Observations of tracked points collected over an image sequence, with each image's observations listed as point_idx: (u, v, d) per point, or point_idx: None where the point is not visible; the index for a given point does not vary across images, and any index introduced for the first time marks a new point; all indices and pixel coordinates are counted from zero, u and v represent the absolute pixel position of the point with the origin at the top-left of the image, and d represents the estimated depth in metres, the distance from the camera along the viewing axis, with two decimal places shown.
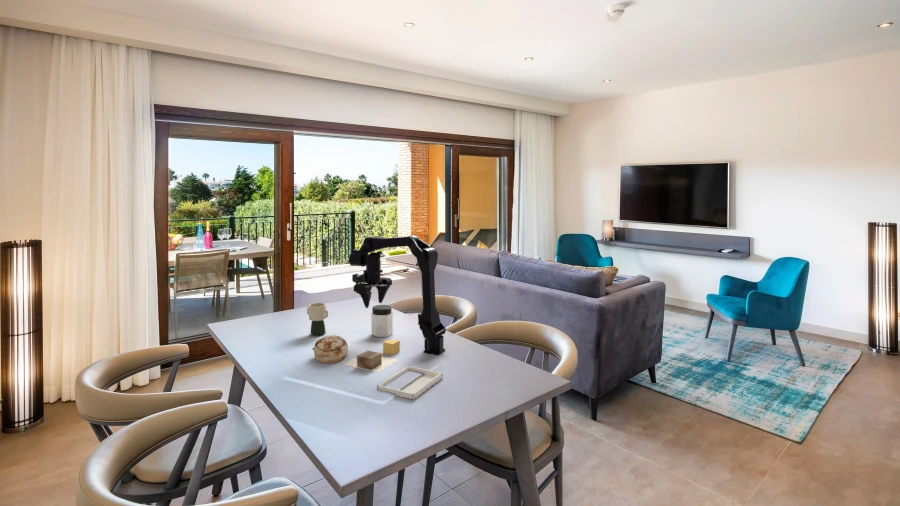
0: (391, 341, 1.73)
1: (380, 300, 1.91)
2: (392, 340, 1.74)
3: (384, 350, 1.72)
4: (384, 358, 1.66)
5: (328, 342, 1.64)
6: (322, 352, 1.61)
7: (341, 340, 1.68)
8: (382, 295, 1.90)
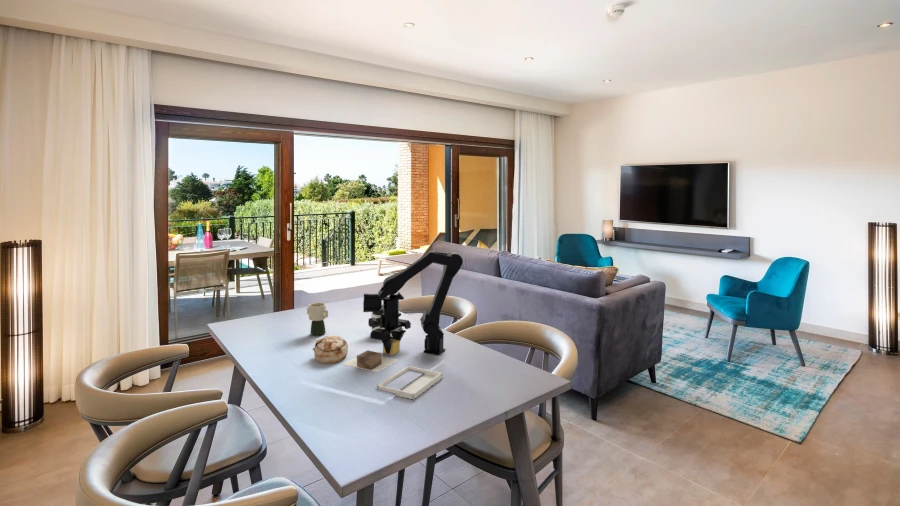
0: None
1: None
2: None
3: (384, 350, 1.72)
4: (384, 358, 1.66)
5: (329, 342, 1.63)
6: (322, 352, 1.60)
7: (341, 340, 1.67)
8: None
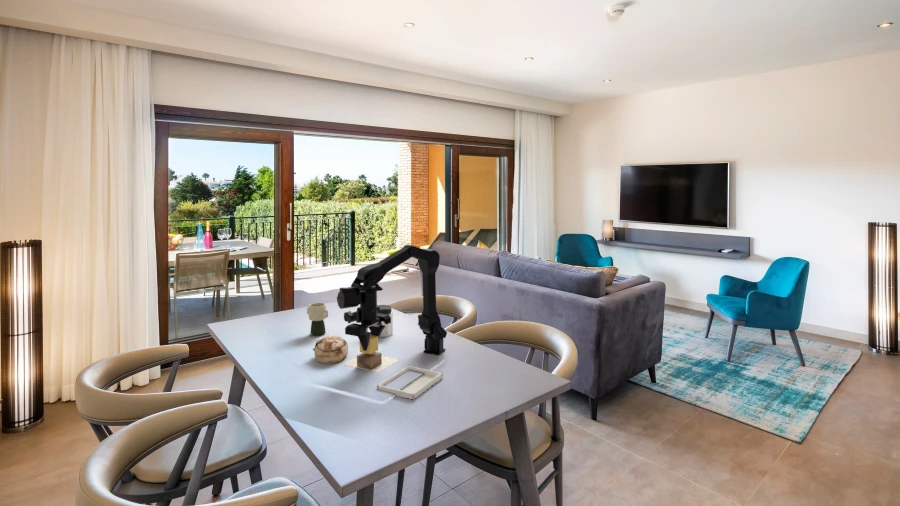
0: None
1: None
2: (370, 336, 1.59)
3: (361, 347, 1.57)
4: (384, 358, 1.66)
5: (329, 342, 1.63)
6: (322, 352, 1.60)
7: (341, 340, 1.67)
8: None
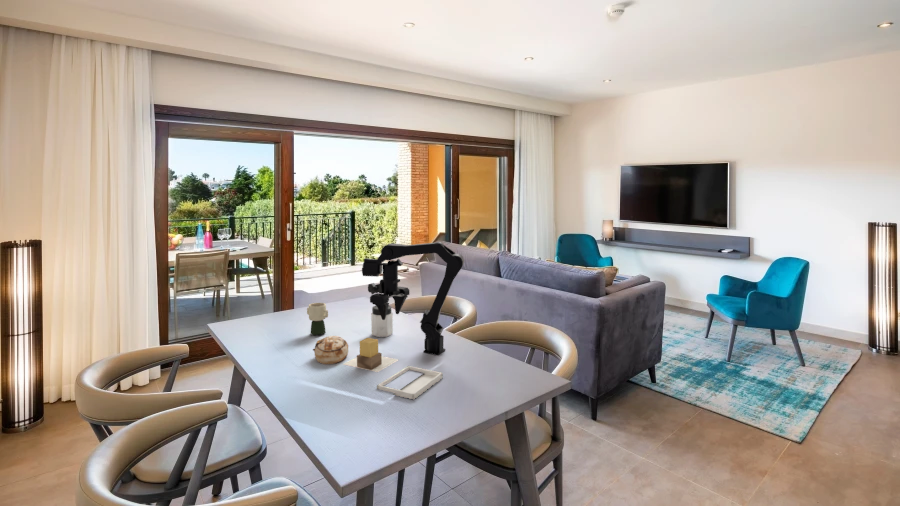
0: (369, 340, 1.59)
1: (397, 311, 1.80)
2: (370, 339, 1.59)
3: (361, 350, 1.58)
4: (384, 358, 1.66)
5: (329, 343, 1.63)
6: (322, 353, 1.60)
7: (342, 341, 1.67)
8: (399, 306, 1.80)
